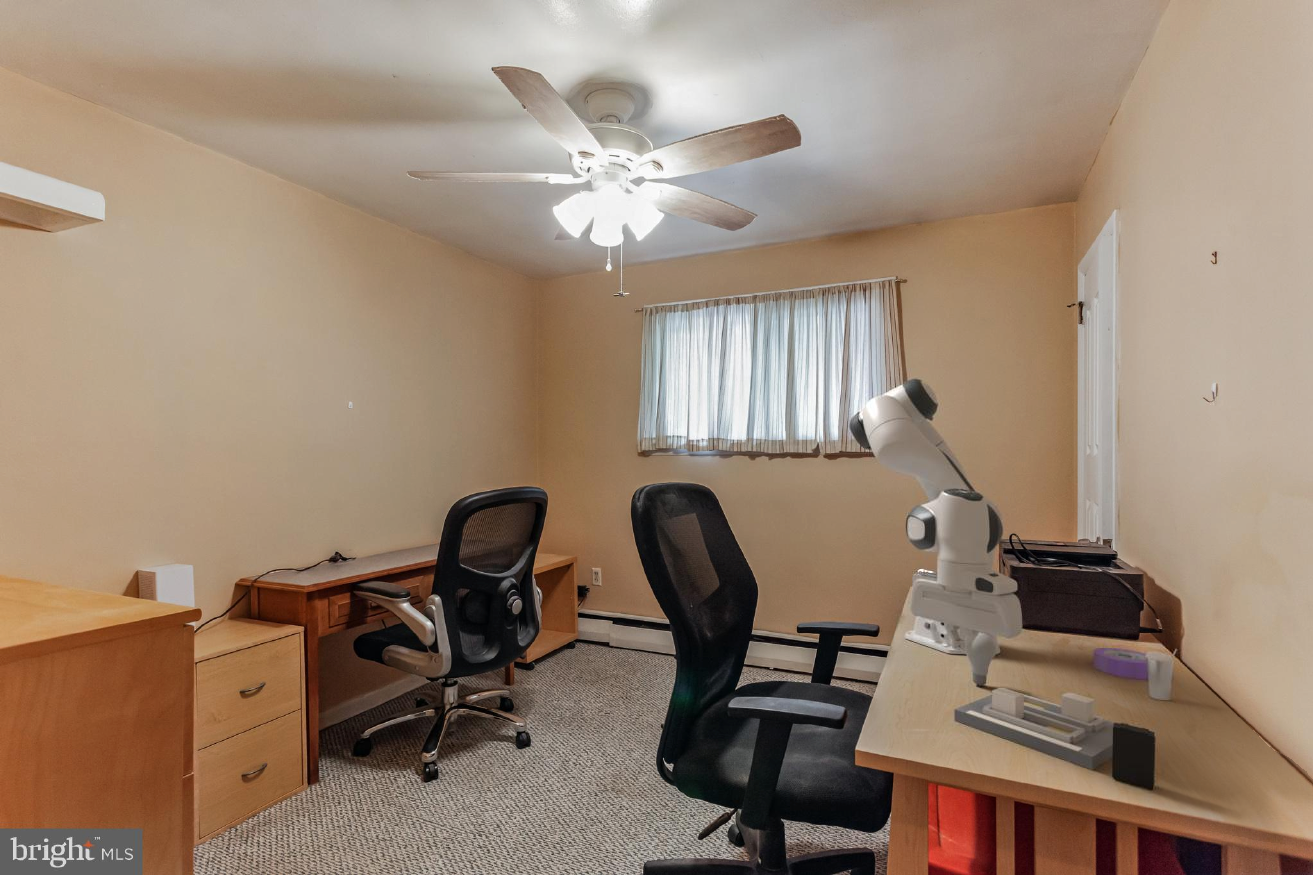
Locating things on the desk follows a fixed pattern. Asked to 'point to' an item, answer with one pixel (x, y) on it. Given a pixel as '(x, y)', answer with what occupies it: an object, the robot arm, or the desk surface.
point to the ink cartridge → (1133, 755)
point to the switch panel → (1044, 730)
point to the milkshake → (1159, 674)
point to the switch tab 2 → (1078, 707)
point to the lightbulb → (981, 657)
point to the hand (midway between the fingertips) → (962, 650)
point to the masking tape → (1121, 662)
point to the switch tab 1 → (1008, 702)
